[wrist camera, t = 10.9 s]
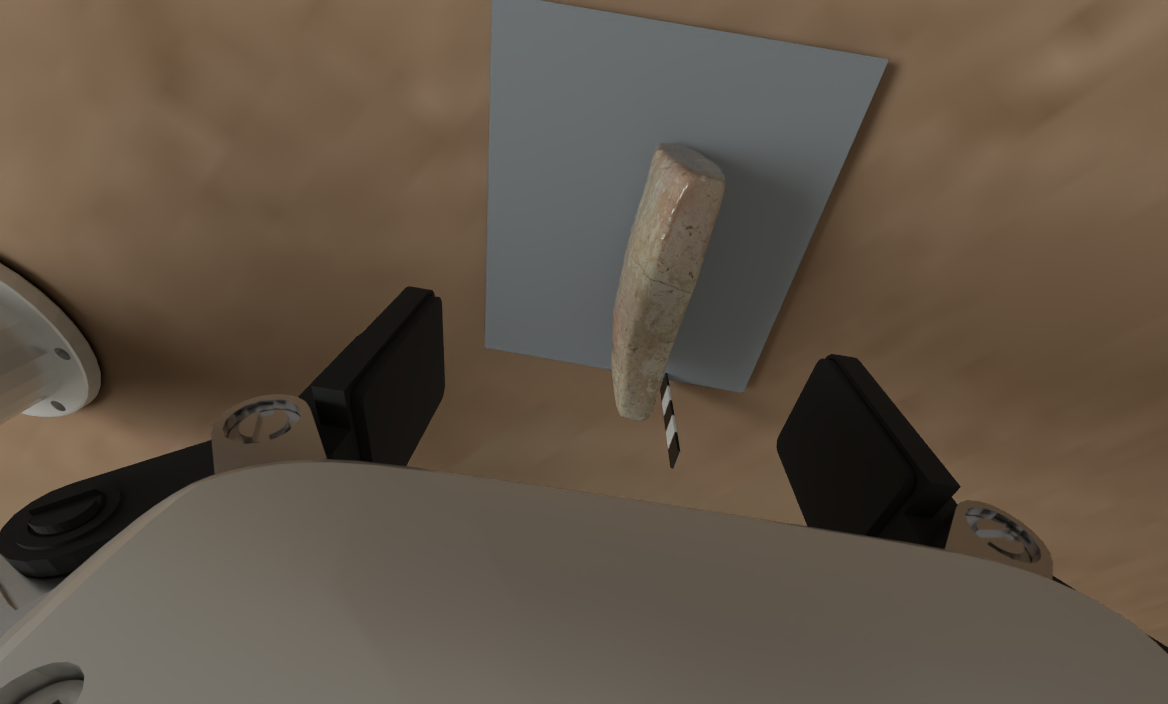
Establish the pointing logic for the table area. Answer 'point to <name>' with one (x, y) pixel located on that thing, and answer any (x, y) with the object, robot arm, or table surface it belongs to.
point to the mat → (620, 167)
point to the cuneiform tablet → (661, 278)
